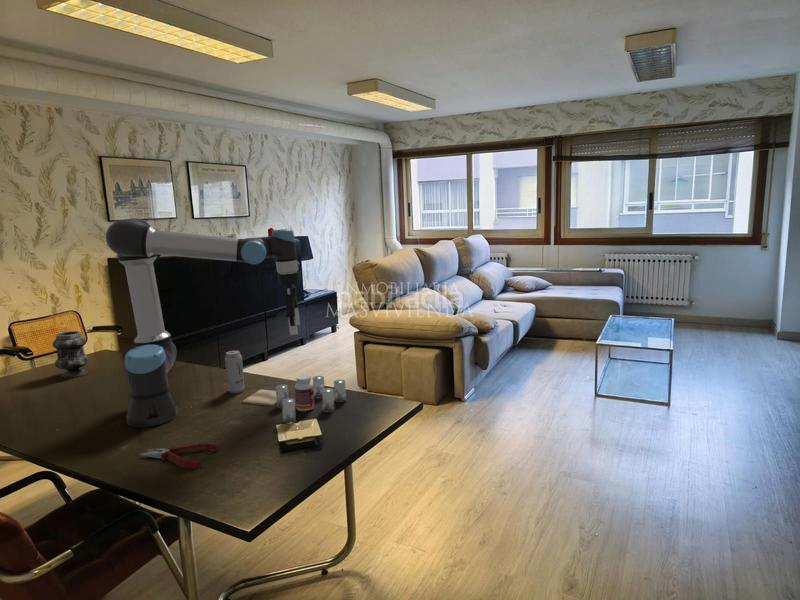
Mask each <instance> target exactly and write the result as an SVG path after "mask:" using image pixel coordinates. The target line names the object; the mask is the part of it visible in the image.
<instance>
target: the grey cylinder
mask: <svg viewBox="0 0 800 600" xmlns="http://www.w3.org/2000/svg"><path fill="white" fill-rule="evenodd" d="M346 388H347V386H346V380H345V379H335V380H334V381H333V390H334V402H335V401H344V400H346V401H347V391H346V390H347V389H346Z"/></svg>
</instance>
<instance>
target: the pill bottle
mask: <svg viewBox="0 0 800 600" xmlns="http://www.w3.org/2000/svg"><path fill="white" fill-rule="evenodd" d="M311 380H312V378H311V375H308V374H301V375H298V376H296V383H295V385H294V392H295V393H294V394H295V397H294V398H295V409H296V410H298V411H299V412H307V410H308V411H311V410H313V409H315V398H314V388H313V381H311ZM310 409H311V410H310Z"/></svg>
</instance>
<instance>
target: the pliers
mask: <svg viewBox="0 0 800 600" xmlns="http://www.w3.org/2000/svg"><path fill="white" fill-rule="evenodd" d="M146 451H147V452H143V453H140V454H139V455H140V456H143V457H149V458H155V459H161V461H162V462H165V461H169V462H171V463H172V464H174V465H175V466H177V467H179V468H182V469H189V470H190V469H193V470H196V469H198V470H199V469H200V468H201V467H202V466H201V465H202V464H201V461H199V460H197V459H188V458H187V459H186V458H183V457H181V456H180V455H185V454H190V453H196V452H216V453H217V452H218V451H219V446H218V445H217V444H216V443H210V442H209V443H207V442H206V443H204V442H203V443H195V444H189V445H182V446H177V447H176V446H175V445H171V447H170V448H169V449H167V448H152V449H151V448H149V449H146Z"/></svg>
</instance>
